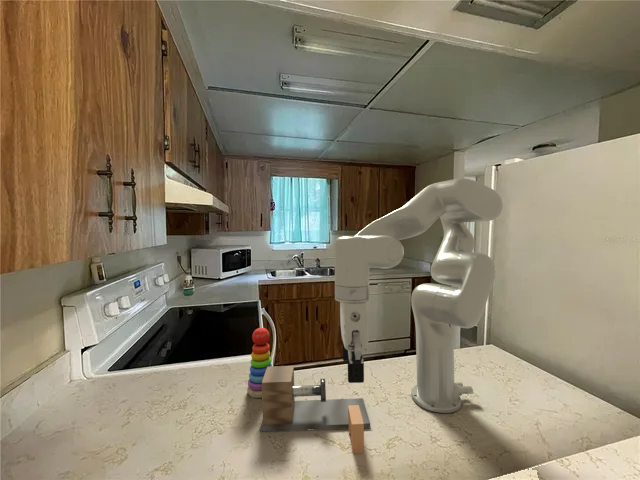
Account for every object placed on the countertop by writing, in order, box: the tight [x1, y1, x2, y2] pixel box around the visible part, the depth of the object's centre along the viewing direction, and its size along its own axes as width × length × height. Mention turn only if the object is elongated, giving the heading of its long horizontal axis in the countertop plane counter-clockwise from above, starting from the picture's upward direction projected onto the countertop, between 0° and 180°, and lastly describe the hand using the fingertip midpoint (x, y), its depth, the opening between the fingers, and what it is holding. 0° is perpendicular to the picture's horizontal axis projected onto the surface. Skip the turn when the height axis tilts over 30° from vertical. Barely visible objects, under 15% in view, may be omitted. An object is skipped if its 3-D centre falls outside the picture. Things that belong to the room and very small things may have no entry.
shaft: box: [292, 378, 327, 402], centre depth 69 cm, size 16×5×5 cm, turn 91°
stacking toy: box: [246, 327, 273, 399], centre depth 81 cm, size 8×8×19 cm
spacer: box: [348, 405, 365, 453], centre depth 61 cm, size 2×6×6 cm, turn 1°
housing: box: [259, 365, 371, 433], centre depth 70 cm, size 26×10×11 cm, turn 91°
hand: (352, 370), depth 60 cm, fingers open, 9 cm apart
